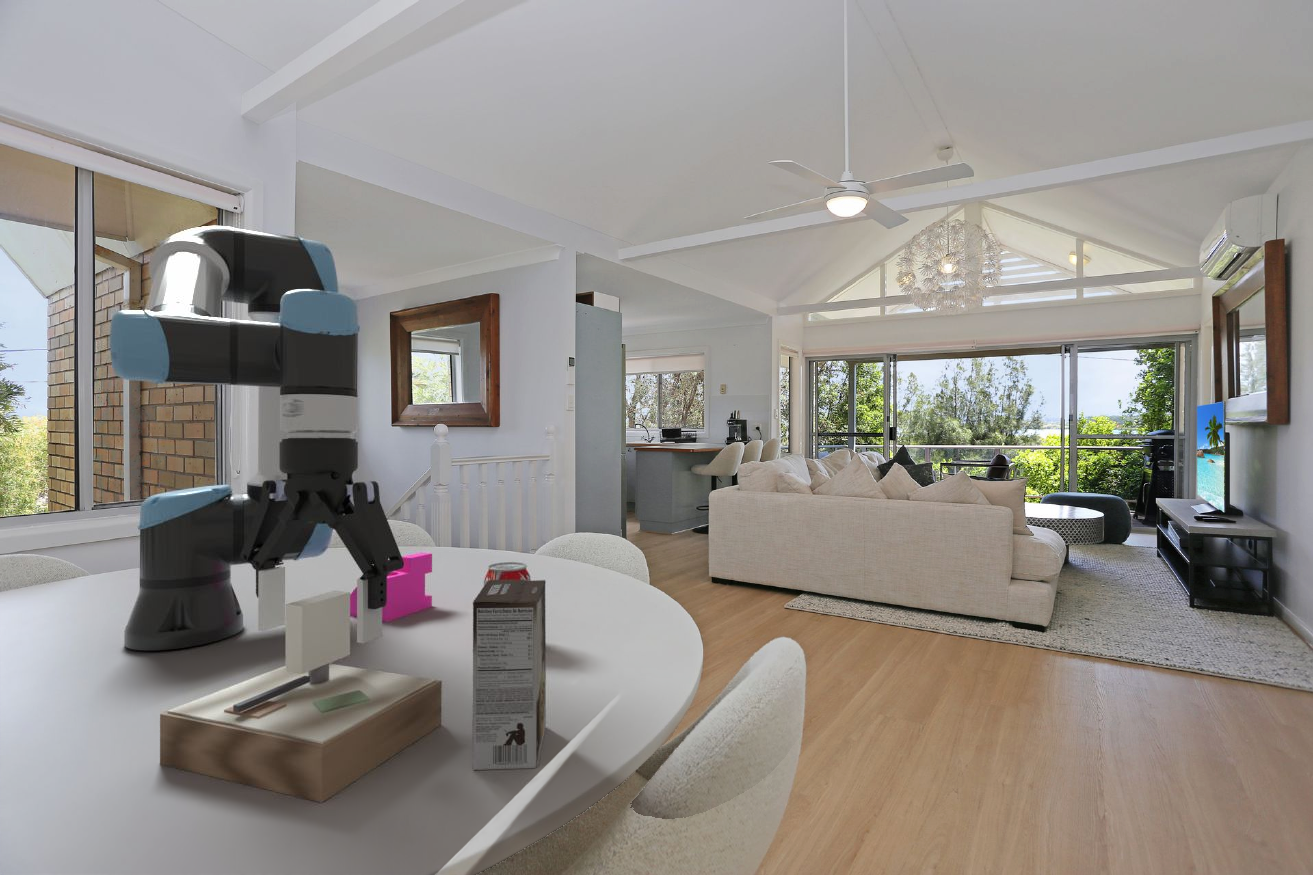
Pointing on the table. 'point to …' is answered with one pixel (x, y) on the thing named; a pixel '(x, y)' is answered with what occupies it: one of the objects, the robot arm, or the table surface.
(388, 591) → the bracket
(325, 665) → the switch lever
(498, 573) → the soda can
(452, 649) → the table surface
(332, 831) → the table surface
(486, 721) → the coffee box
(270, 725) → the switch box
